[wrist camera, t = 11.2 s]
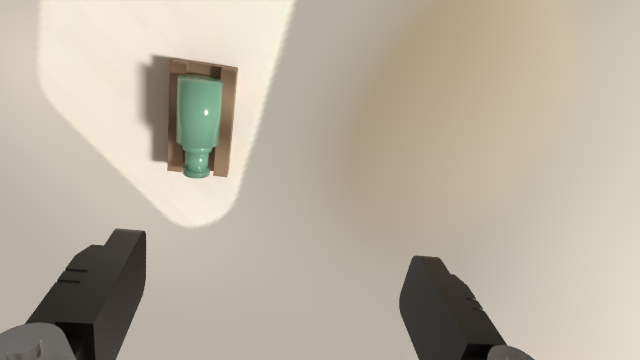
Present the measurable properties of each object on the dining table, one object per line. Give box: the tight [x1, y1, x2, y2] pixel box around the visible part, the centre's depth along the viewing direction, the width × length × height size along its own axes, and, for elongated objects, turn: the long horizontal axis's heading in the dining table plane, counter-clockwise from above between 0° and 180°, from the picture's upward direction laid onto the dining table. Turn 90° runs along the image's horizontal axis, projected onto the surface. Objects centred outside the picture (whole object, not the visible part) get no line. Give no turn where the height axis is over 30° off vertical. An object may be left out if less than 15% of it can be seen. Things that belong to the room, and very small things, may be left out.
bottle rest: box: [167, 58, 238, 177], centre depth 41 cm, size 11×6×2 cm, turn 170°
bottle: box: [176, 74, 223, 178], centre depth 39 cm, size 9×4×4 cm, turn 170°
